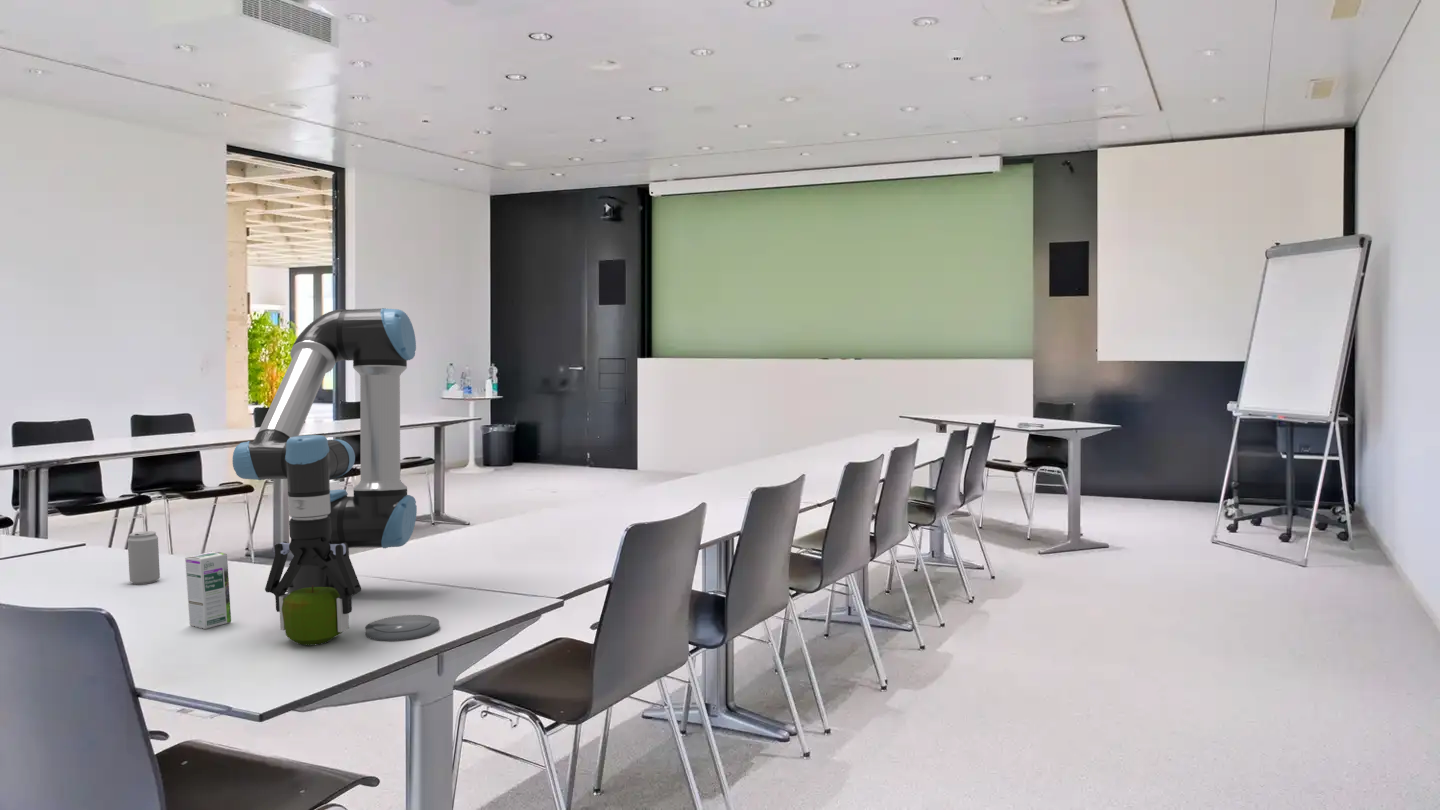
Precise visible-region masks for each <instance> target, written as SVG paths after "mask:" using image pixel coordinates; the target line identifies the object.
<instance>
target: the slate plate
mask: <svg viewBox="0 0 1440 810" xmlns="http://www.w3.org/2000/svg"><path fill="white" fill-rule="evenodd" d="M439 629H440V621H439V619H438V618H437V617H434V616H431V615H424V614H423V615H422V614H408V615H406V614H404V615H395V616H389V617H384V618H380V619H377V620H374V621H372V622H370V623H368V624H367V625H366V626H365V628H364V631H365V632H364V633H365V637H366V638H368V639H371V640H374V641H381V642H384V641H385V642H397V641H398V642H399V641H409V640H410V641H411V640H415V639H419V638H424V637H427V636H429V635H430V636H431V635H433V634H434V633H436V632H437V631H438V630H439Z"/></svg>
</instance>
